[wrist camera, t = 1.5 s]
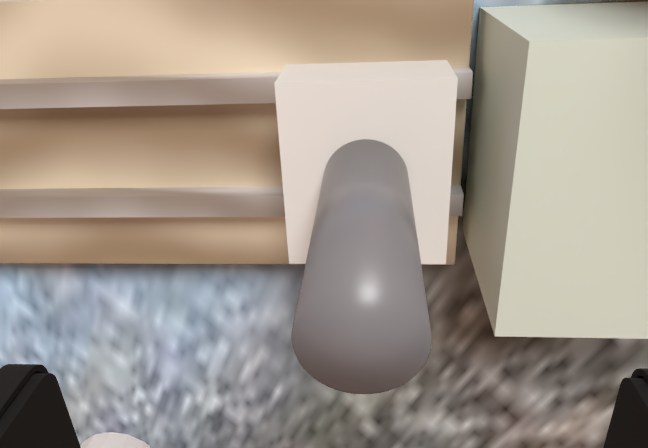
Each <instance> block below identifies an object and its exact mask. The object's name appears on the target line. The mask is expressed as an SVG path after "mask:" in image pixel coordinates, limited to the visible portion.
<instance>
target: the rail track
mask: <svg viewBox="0 0 648 448" xmlns="http://www.w3.org/2000/svg"><path fill="white" fill-rule="evenodd" d="M473 6H474V0H0V263H114V264H289V256H288V244H287V232H286V220H285V207H284V195H283V183H282V171H281V159H280V147H279V134H278V122H277V110H276V98H275V86H274V83H275V81H276V80H277V78H278V77H279V75H280V74H281V72H282V71H283V69H284V67H285V66H286V64H320V63H356V62H392V61H428V60H447V61H448V62H449V64H450V66H451V68H452V69H453V71H454V73H455V74H456V76H457V78H458V84H457V99H456V115H455V130H454V145H453V161H452V176H451V192H450V207H449V223H448V238H447V254H446V264H421V265H455V253H456V239H457V225H458V216H462V211H463V198H464V194H463V191H462V188H461V185H460V184H461V170H462V157H463V143H464V129H465V115H466V102H467V99H471V93H472V80H473V72H472V70H471V69H470V67H469V61H470V47H471V33H472V19H473Z"/></svg>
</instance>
